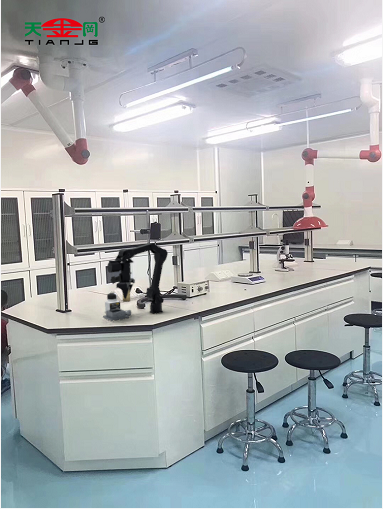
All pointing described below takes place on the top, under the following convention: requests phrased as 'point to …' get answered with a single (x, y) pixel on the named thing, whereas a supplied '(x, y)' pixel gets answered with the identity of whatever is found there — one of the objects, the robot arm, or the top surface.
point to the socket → (117, 314)
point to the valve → (127, 297)
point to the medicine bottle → (112, 302)
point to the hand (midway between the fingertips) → (126, 297)
